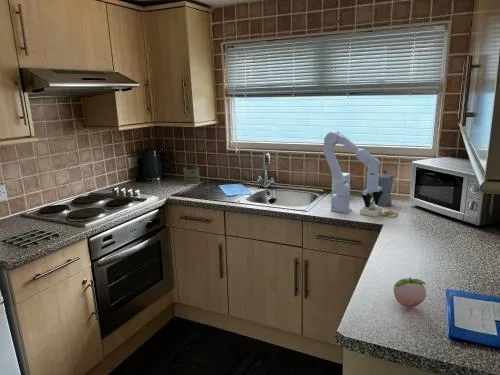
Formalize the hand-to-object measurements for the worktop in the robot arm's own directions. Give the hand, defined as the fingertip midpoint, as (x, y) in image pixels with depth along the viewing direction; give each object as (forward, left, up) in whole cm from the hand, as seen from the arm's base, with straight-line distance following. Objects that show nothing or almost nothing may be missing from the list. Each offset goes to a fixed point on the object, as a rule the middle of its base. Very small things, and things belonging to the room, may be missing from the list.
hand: (371, 205), depth 206 cm
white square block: (-27, +22, -5) cm, 35 cm away
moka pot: (0, +20, -4) cm, 20 cm away
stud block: (+9, +2, -4) cm, 10 cm away
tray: (0, 0, -4) cm, 4 cm away
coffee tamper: (0, 0, -4) cm, 4 cm away
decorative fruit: (+41, -84, -4) cm, 94 cm away
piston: (-136, +2, -5) cm, 136 cm away
